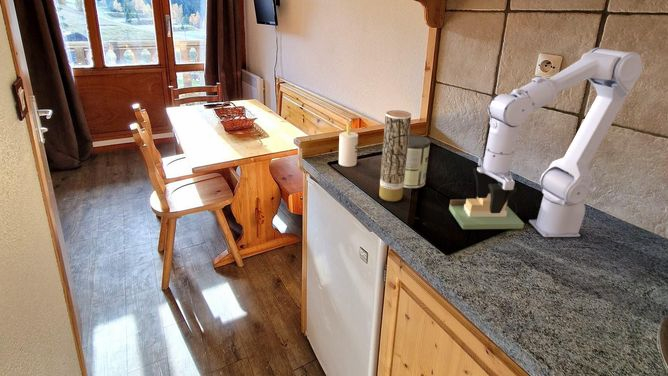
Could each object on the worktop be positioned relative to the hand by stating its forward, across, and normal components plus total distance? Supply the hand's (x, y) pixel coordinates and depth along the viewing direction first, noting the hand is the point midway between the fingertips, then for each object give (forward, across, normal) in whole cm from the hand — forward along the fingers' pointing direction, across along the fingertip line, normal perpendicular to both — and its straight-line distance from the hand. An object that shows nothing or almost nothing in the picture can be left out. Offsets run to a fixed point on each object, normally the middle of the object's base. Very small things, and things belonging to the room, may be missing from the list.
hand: (488, 204), depth 95 cm
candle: (+10, -50, -28) cm, 58 cm away
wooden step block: (+8, -10, +5) cm, 14 cm away
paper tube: (+10, -23, -18) cm, 31 cm away
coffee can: (+10, -34, -10) cm, 37 cm away
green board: (+9, -10, +5) cm, 15 cm away
